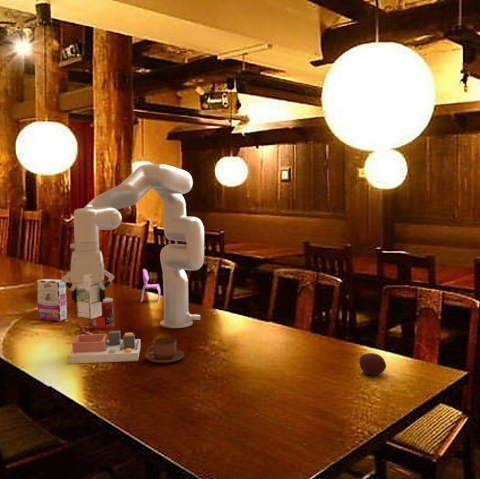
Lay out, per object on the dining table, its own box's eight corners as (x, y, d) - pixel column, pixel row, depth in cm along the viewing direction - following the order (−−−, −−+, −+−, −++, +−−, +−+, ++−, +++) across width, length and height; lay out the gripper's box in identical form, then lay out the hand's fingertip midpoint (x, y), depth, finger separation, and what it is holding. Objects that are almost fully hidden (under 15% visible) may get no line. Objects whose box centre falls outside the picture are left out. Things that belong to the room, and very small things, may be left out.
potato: (381, 369, 173) (381, 349, 172) (389, 378, 164) (389, 357, 164) (356, 369, 172) (357, 349, 172) (363, 379, 164) (364, 358, 163)
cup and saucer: (166, 368, 175) (166, 348, 174) (137, 361, 181) (137, 342, 181) (191, 358, 185) (191, 339, 184) (163, 352, 191) (162, 333, 191)
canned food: (109, 330, 219) (108, 301, 218) (89, 329, 221) (88, 301, 220) (117, 325, 227) (116, 297, 225) (98, 324, 228) (97, 297, 227)
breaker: (120, 342, 193) (120, 330, 193) (119, 344, 190) (119, 332, 190) (110, 342, 193) (109, 331, 193) (109, 345, 190) (108, 333, 190)
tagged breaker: (134, 346, 189) (134, 332, 188) (134, 348, 186) (134, 334, 186) (124, 346, 189) (123, 332, 188) (123, 349, 186) (123, 335, 185)
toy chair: (158, 302, 268) (157, 270, 267) (139, 302, 268) (138, 270, 267) (161, 298, 276) (160, 267, 275) (142, 299, 276) (141, 267, 275)
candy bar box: (68, 319, 237) (66, 279, 235) (60, 322, 232) (58, 281, 231) (46, 317, 241) (44, 278, 240) (37, 319, 237) (36, 280, 235)
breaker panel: (140, 346, 198) (140, 330, 197) (137, 360, 182) (137, 343, 181) (77, 348, 195) (76, 332, 195) (69, 363, 180) (68, 346, 179)
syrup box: (102, 315, 188) (101, 271, 187) (90, 319, 183) (89, 274, 181) (88, 313, 191) (87, 270, 189) (76, 317, 185) (74, 272, 184)
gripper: (56, 249, 180) (58, 305, 182) (113, 248, 182) (115, 303, 184) (61, 246, 187) (63, 300, 189) (116, 245, 189) (117, 298, 191)
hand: (88, 301), depth 186 cm, fingers closed on syrup box, 7 cm apart
